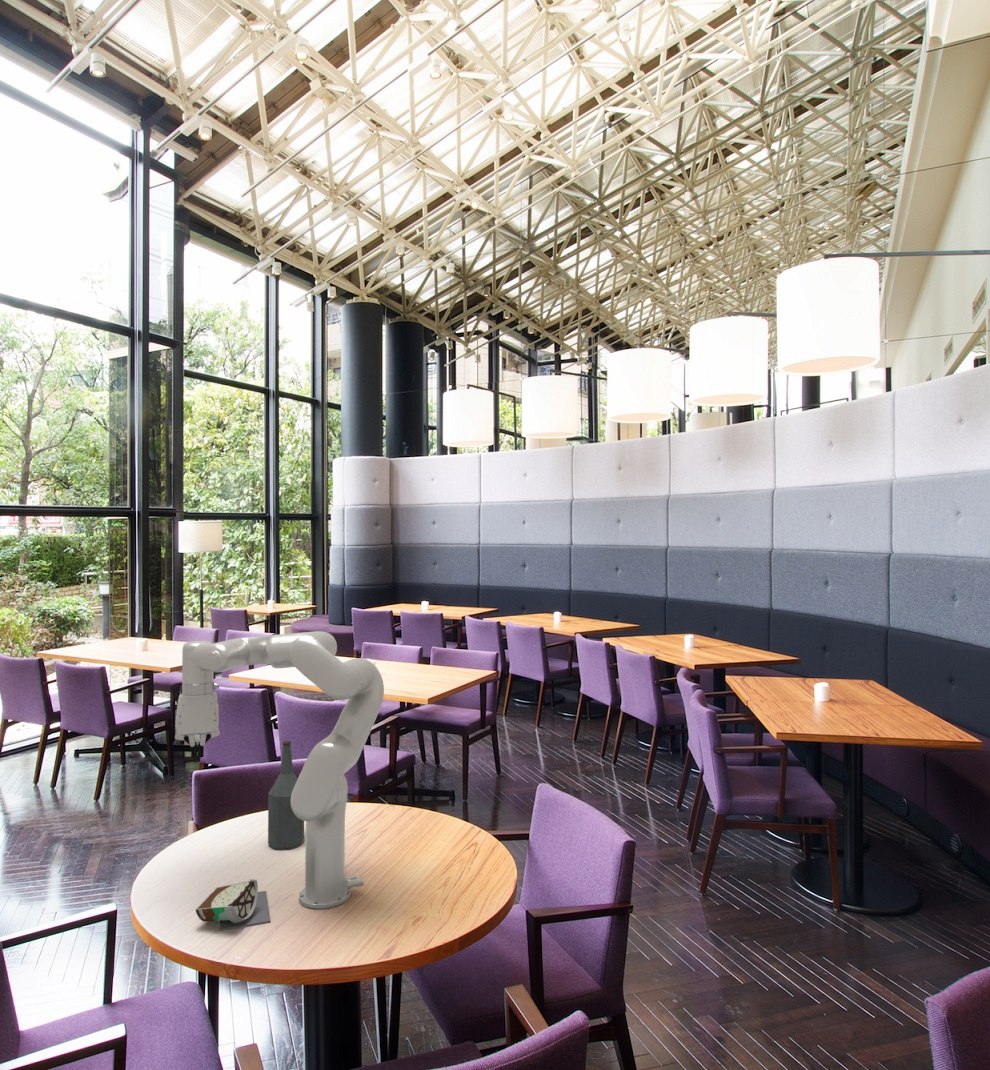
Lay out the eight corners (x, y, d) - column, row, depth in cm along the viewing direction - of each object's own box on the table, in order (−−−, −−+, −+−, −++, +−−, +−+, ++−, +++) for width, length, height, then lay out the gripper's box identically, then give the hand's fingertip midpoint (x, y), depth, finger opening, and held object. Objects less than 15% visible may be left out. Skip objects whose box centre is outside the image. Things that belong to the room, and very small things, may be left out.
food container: (198, 939, 166) (238, 933, 164) (191, 913, 165) (232, 907, 164) (225, 908, 178) (263, 902, 176) (219, 884, 178) (257, 878, 176)
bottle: (262, 842, 216) (263, 740, 217) (293, 834, 223) (293, 734, 223) (278, 853, 208) (279, 747, 209) (309, 844, 215) (310, 741, 215)
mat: (266, 892, 185) (266, 890, 185) (270, 922, 170) (270, 920, 170) (219, 899, 181) (219, 898, 181) (219, 931, 166) (219, 929, 166)
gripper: (228, 684, 195) (228, 753, 195) (167, 688, 190) (166, 759, 190) (228, 689, 188) (228, 761, 188) (165, 693, 183) (164, 767, 183)
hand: (197, 760), depth 189 cm, fingers closed
